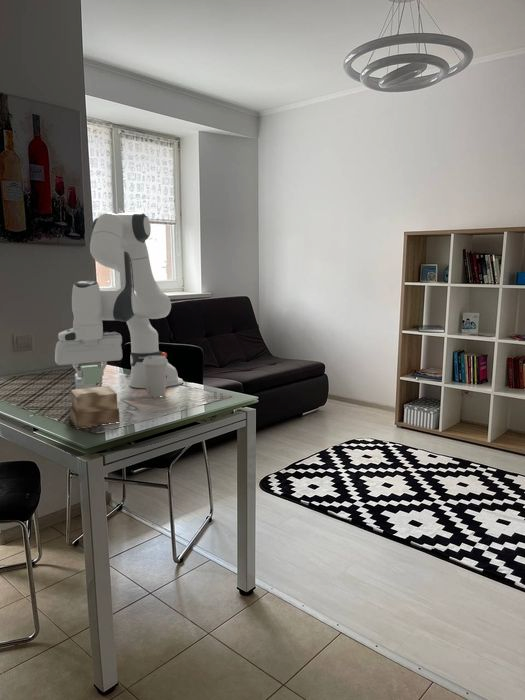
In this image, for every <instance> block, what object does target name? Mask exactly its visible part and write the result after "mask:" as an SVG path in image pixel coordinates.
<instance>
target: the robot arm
mask: <svg viewBox="0 0 525 700" xmlns="http://www.w3.org/2000/svg"><path fill="white" fill-rule="evenodd" d="M90 229H91V230H90V231H91V237H90V243H89V252H90V255H91V256H92V258H93V259H94V261H96V262H97V263H98V264H100V265H101V266H104V268H105V267H106V268H108V269H112V270H115V271H116V272H118V273H119V282H120V283H119V284H120V285H119V286H120V288H119V289H117V290H100V289H101V288H100V284H99V283H98V282H97V281H95V280H80V281H77V282H75V283H74V284H73V286H72V290H71V291H72V293H71V311H72V313H73V321H72V328H71V327H70V328H69V329H65V330H63V331H60V332H58V334H57V339H58V341H57V342H56V343H55V344H56V345H55V347H54V348H55V349H54V361H55V364H57V365H58V366H66V365H67V366H69V365H72V367H73V369H74V370H75V372H76V373H77V377H78V378H81V377H83V375H82V374H83V372H82V371H81V370H79V364H89V363H91V364H92V363H101V367H100V377H102V376H104V374H105V373H104V372H105V371H104V370H105V369H106V367H107V366H108V365H107V363H108V362H113V361H114V362H115V361H121V360H122V359H123V349H122V344H123V336H122V335H121V333H119V332H117V331H111V332H109V331H104V326H103V325H104V324H103V321H115V322H116V321H117V322H118V321H119V322H126V325H127V327H128V331H129V334H130V335H129V337H130V346H131V347H130V349H131V350H130V351H131V352H130V366H131V370H130V377H129V382H128V386H129V387H130V388H136V389H147V385H146V377H145V369H144V364H143V360H144V358H145V357H147V356H165V357H166V358H167V357H168V354H167V352H165V351H164V352H163V351H160V350H159V333H158V331H157V330H156V329H155V328H154V327H153V326H152V324H151V321H150V319H151V320H154V319H155V320H158V319H162V318H163V319H164V318H166V317H167V316H169V314H170V312H171V309H172V301H171V299H170V297H169V296H168V295H167V294H166V293H164V292H163V291H162V290H161V288H160V287H159V285H158V284H157V282H156V280H155V278H154V274H153V271H152V270H153V269H152V267H151V266H152V265H151V262H150V261H151V260H150V256H149V251H148V246H147V243H146V240H148V239H149V237H150V235H151V231H152V230H151V223H150V219H149V217H148V216H147V215H146V214H145V213H143V212H136V211H135V212H122V213H120V212H119V213H117V214H116V213H113V212H105V213H102V214H101V215H99V216H98V217H96V218H95V219H94V220H93V221H92V223H91V226H90ZM182 383H183V384H184V380H183V378H180V377H179V376H178V371H177V369H176V367H175V366H173V365H172V364H171V363H169V362H168V363H167V369H166V386H165V388H167V387H173V386H178V385H179V386H180V385H182Z"/></svg>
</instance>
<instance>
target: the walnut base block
mask: <svg viewBox="0 0 525 700" xmlns="http://www.w3.org/2000/svg"><path fill="white" fill-rule="evenodd" d="M70 418H71V419H70ZM69 419H70V421H71V420H72V421H73V422H72V421H71V422H72V424H73V423H74V424H73V426H74V425H75V426H76V427H75V426H74V427H75V429H76V428H82V427H89V426H95V425H102V424H109V423H116V422H120V419H121V418H120V409H119V408H118V407H117V409H113V410H105V411H97V412H89V413H82V414H77V412H76V410H75V409H74V407H73V406H72V404H69Z"/></svg>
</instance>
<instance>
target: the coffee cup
mask: <svg viewBox="0 0 525 700" xmlns="http://www.w3.org/2000/svg"><path fill="white" fill-rule="evenodd" d="M167 363H169V361H168V359H167V356H166V357H165V356H147V357H145V358H144V360H143V364H144V369H145V377H146V385H147V388H146V392H147V397H149V398H152V397H158V398H161V397H160V396H163V397H165V396H166V387H165V386H166V369H167ZM164 395H165V396H164Z"/></svg>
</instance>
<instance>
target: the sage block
mask: <svg viewBox="0 0 525 700" xmlns="http://www.w3.org/2000/svg"><path fill="white" fill-rule="evenodd" d="M100 369H101V367H100V366H99V365H98V364H91V365H80V371H82V372H83V374H82V375H83V377H81V382H82V383H83V384H84V385H85V384H95V383H96V384H101V376H100Z"/></svg>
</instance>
